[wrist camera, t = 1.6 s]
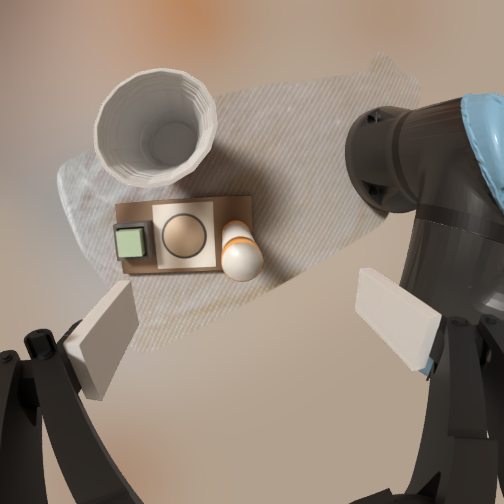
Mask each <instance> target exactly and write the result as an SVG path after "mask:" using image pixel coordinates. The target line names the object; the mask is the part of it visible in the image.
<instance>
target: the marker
mask: <svg viewBox="0 0 504 504" xmlns="http://www.w3.org/2000/svg"><path fill="white" fill-rule="evenodd" d="M221 264H222V269H223V271H224V273H225V274H226V275H227V276H228V277H229V278H231V279H232V280H235V281H239V282H245V281H249V280H252V279H253V278H255V277H256V276H257V275H258V274H259V273H260V271H261V269H262V267H263V256H262V253H261V251H260V249H259V247H258V245H257V244H256V243H255V241H254V239H253V237H252V235H251V233H250V230H249V228H248V226H247V225H246V224H245V223H244V222H242V221H239V220H233V221H230V222H228V223H227V224H226V225H225V226H224V228H223V231H222V256H221Z"/></svg>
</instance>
